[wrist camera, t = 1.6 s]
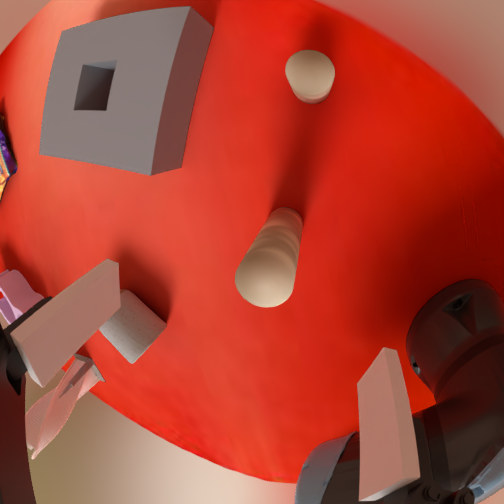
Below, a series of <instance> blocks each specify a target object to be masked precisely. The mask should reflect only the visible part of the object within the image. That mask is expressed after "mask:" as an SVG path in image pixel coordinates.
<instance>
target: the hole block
mask: <svg viewBox="0 0 504 504" xmlns="http://www.w3.org/2000/svg"><path fill="white" fill-rule="evenodd" d="M213 30H214V27H213V26H212V25H211V24H210V23H209V22H207V21H206V20H205V19H204V18H203V17H202V16H201V15H200V14H199V13H198V12H197V11H195V10H194V9H193V8H192V7H191V6H184V7H171V8H161V9H153V10H146V11H140V12H134V13H128V14H123V15H118V16H114V17H109V18H105V19H101V20H97V21H93V22H90V23H86V24H83V25H80V26H76V27H73V28H70V29H67V30H65V31H62V33H61V36H60V40H59V43H58V46H57V50H56V53H55V57H54V61H53V65H52V69H51V73H50V78H49V82H48V87H47V93H46V98H45V105H44V111H43V119H42V127H41V138H40V152H39V154H40V155H46V156H52V157H58V158H64V159H70V160H76V161H81V162H87V163H92V164H97V165H103V166H108V167H113V168H118V169H122V170H127V171H132V172H136V173H141V174H146V175H150V176H151V175H155V174H159V173H162V172H166V171H170V170H174V169H178V168H181V166H182V160H183V155H184V149H185V144H186V139H187V134H188V129H189V124H190V119H191V114H192V110H193V105H194V101H195V97H196V92H197V88H198V84H199V80H200V76H201V72H202V68H203V65H204V61H205V57H206V54H207V50H208V47H209V43H210V40H211V37H212V33H213Z"/></svg>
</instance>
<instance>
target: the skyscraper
mask: <svg viewBox="0 0 504 504" xmlns="http://www.w3.org/2000/svg"><path fill="white" fill-rule="evenodd" d="M74 356H75V358H76V359H75V360H74V362H73V363H72V364H71V366H70V367H69V369H68V370H67V372H66V374H65V375H64V377H63V378H62V380H61V382H60V383H59V385H58V387H57V388H55V389H53V390H52V391H50V392H48V393H47V394H46V395H44V396H43V397H42V398H40V399H39V400H38V401H37V402H36V403H35V404H34V405H33V406H32V407H31V408H30V409H29V411H28V412H27V413H26V415H25V428H26V443H27V447H28V448H29V449H30V450H31V449H32V448H34V449H35V451H34V452H33V454H32V459H35V458H36V456H37V455H38V453H39V452H40V451H41V450H42V449H43V448H44V447H46V446H47V445H48V444H49V443H50V442H51V441H52V439H53V438H54V437H55V436H56V435H57V434H58V433H59V431H60V430H61V429H62V427H63V426H64V424H65V422H66V421H67V419H68V418H69V416H70V414H71V412H72V410H73V408H74V405H75V403H76V401H77V400H78V399H79V398H80V397H81V396H82V395H84V394H85V393H86V392H87V391H88V390H89V389H90V388H92V387H93V386H94V385H95V384H96V383H97V382H98V381H99V380H101V381H104V382H106V381H105V380H104V378H103V376H102V375H101V373H100V372H99V370H98V368H97V366H96V365H95V363H94V361H93V360H92V359H91V358H88V357H85V356H82V355H79V354H76V353H75V354H74Z"/></svg>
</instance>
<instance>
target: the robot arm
mask: <svg viewBox="0 0 504 504" xmlns="http://www.w3.org/2000/svg"><path fill="white" fill-rule="evenodd" d="M120 307H121V301H120V284H119V263H117V262H115V261H112V260H110V259H106V260H104V261H103V262H102V263H100V264H99V265H97V266H96V267H94V268H93V269H92V270H90V271H89V272H87V273H86V274H85V275H83V276H82V277H81V278H79V279H78V280H76V281H75V282H74V283H72V284H71V285H70V286H68V287H67V288H66V289H64V290H63V291H62V292H60V293H59V294H58V295H57V296H55V297H54V298H52V297H51V296H50V297H47V298H44V299H42V300H40V301H39V302H37V303H36V304H35V305H34V306H33V307H31V308H30V309H28V310H27V312H25V313H23V314H22V315H21V316H20V317H19V318H17V319H16V320H15V321H14V322H12V323H11V324H10V325H9V326H8V327H7V328H5V329H4V330H3V329H2V326H1V324H0V504H36V501H35V496H34V491H33V486H32V481H31V475H30V469H29V462H28V453H27V443H26V428H25V385H26V377H25V372H26V371H27V370H28V372H29V374H30V376H31V377H32V379H33V380H34V381H35V382H36V383H38V384H39V385H40V386H41V387H42V388H44V387H45V385H46V384H47V383H48V382H49V381H50V380H51V379H52V378H53V377H54V375H55V374H56V373H57V372H58V371H59V370H60V369H61V368H62V367H63V366H64V365H65V363H66V362H67V361H68V360H69V359H70V358H71V357H72V356H73V355H74V354H75V353H76V352H77V351H78V350H79V349H80V348H81V346H82V345H83V344H84V343H85V342H86V341H87V340H88V339H89V338H90V337H91V336H92V335H93V334H94V333H95V332H96V331H97V330H98V329H99V328H100V327H101V326H102V325H103V324H104V323H105V322H106V321H107V320H108V319H109V318H110V317H111V316H112V315H113V314H114V313H115V312H116V311H117V310H118V309H119V308H120ZM406 351H407V355H408V358H409V361H410V365H411V367H412V369H413V370H414V372H415V373H416V374H417V375H418V377H419V378H420V379H421V380H422V381H423V382H424V384H425V385H426V386H427V387H428V388H429V390H430V391H431V392H432V393H433V394H434V397H435V401H436V404H435V405H433V406H431V407H429V408H427V409H424V410H421V411H419V412H417V413H414V414H411V409H410V404H409V399H408V395H407V390H406V386H405V381H404V377H403V373H402V369H401V365H400V361H399V357H398V353H397V350H394V349H389V348H385V347H383V349H382V350H381V352H380V353H379V355H378V356H377V357H376V359H375V360H374V362H373V363H372V364H371V366H370V367H369V369H368V370H367V371H366V373H365V374H364V375H363V377H362V378H361V379H360V381H359V382H358V383H357V388H358V403H359V425H360V432H357V431H355V432H352V433H350V434H348V435H347V436H343V437H340V438H336V439H333V440H329V441H326V442H323V443H321V444H320V445H318V446H317V447H316V448H314V449H313V450H312V452H311V453H310V454H309V456H308V457H307V459H306V460H305V462H304V464H303V467H302V470H301V473H300V474H299V478H298V481H297V486H296V492H295V504H477V503H479V502H481V501H483V500H485V499H486V498H488V497H489V496H491V495H493V494H494V493H496V492H497V491H499V490H500V489H502V488H503V487H504V303H503V301H502V299H501V297H500V296H499V294H498V293H497V292H496V291H495V290H494V289H493V287H492V286H491V285H489V284H488V283H486V282H485V281H482V280H477V279H470V280H464V281H460V282H457V283H455V284H453V285H450V286H449V287H447V288H445V289H444V290H442V291H441V292H439V293H438V294H437V295H435V296H434V297H433V298H432V299H431V300H430V301H429V302H428V303H427V304H426V305H425V306H424V307H423V308H422V309H421V311H420V312H419V313H418V315H417V316H416V318H415V319H414V321H413V323H412V325H411V327H410V329H409V332H408V335H407V340H406Z"/></svg>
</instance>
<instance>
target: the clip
mask: <svg viewBox="0 0 504 504" xmlns="http://www.w3.org/2000/svg"><path fill="white" fill-rule="evenodd" d="M0 291H1V292H2V293H3V295H4V296H5V297H3V298H2V299H0V311H1V313H2V314H3V316H4V318H5V319H6V320H7V322H8V323H9V324H11V323H12V322H14V321H15V320H16V319H17V318H19V317H20V316H21V315H22V314H23V313H25V312H27V310H28V309H30V308H31V307H33V306H34V305H35V304H36V303H37V302H39V301H40V300H42V299H44V297H43V296H42V295H41V294H39V293H36V292H34V291H33V290H32V288H31V287H30V285H29V284H28V282H27V280H26V279H25V278H24V276H23V275H22V274H21V273H20V272H19V271H17V270H15V269H13V270H12V271H10V272H9V270H8V269H7V270H5V271H4V272H2V273H0Z"/></svg>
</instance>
